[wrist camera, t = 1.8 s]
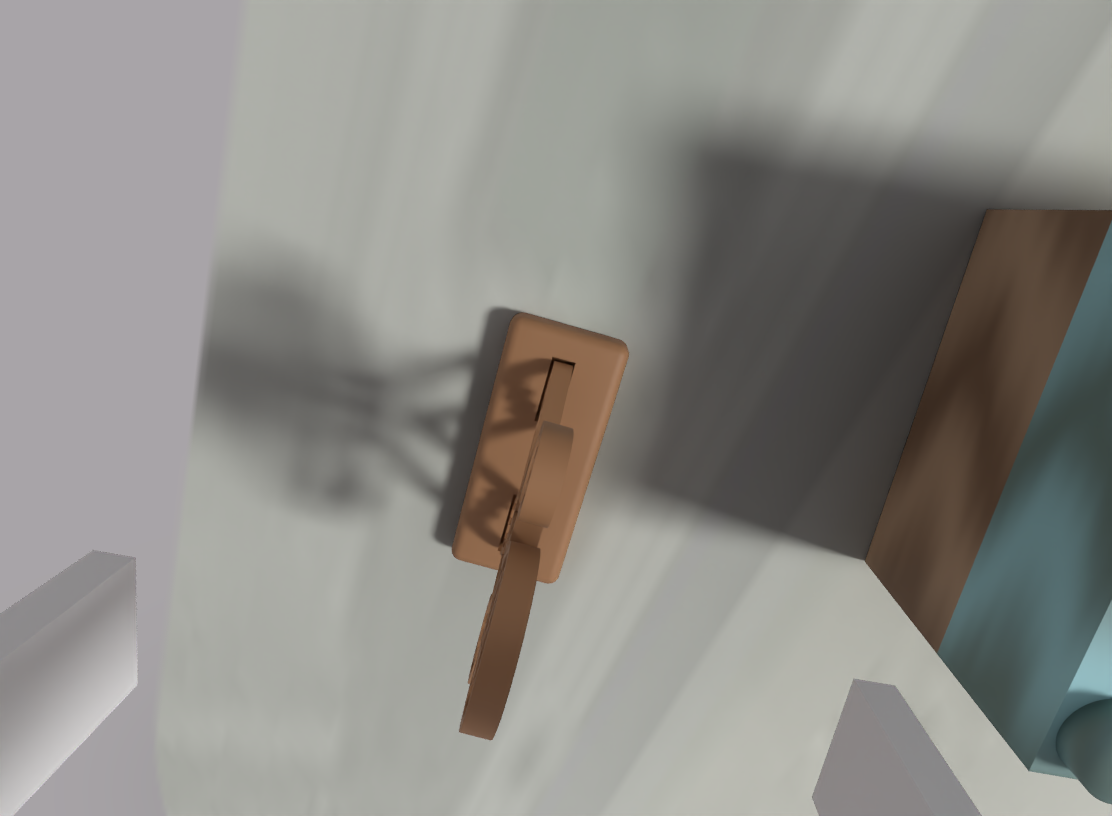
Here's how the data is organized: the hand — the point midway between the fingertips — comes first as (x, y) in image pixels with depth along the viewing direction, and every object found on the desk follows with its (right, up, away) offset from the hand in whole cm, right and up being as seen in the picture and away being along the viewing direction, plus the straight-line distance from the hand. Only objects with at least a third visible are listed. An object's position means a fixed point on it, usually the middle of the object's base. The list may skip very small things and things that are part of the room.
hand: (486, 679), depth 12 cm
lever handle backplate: (+1, +4, +11) cm, 11 cm away
